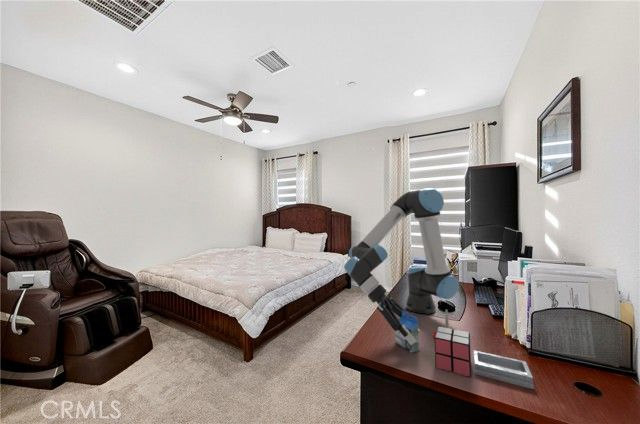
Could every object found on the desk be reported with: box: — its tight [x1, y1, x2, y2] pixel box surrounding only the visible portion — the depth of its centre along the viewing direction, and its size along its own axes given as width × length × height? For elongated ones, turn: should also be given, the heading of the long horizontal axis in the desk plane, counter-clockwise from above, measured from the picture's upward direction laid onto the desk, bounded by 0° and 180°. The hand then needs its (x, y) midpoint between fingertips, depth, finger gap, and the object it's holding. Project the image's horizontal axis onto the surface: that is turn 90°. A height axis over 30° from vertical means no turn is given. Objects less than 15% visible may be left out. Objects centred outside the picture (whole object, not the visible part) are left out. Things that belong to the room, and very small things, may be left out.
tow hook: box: [432, 309, 450, 338], centre depth 99 cm, size 8×13×9 cm
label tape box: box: [394, 310, 420, 353], centre depth 93 cm, size 9×4×12 cm, turn 23°
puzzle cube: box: [433, 326, 472, 378], centre depth 81 cm, size 10×10×10 cm
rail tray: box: [473, 349, 535, 390], centre depth 76 cm, size 10×14×3 cm
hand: (415, 337), depth 91 cm, fingers closed on label tape box, 8 cm apart
